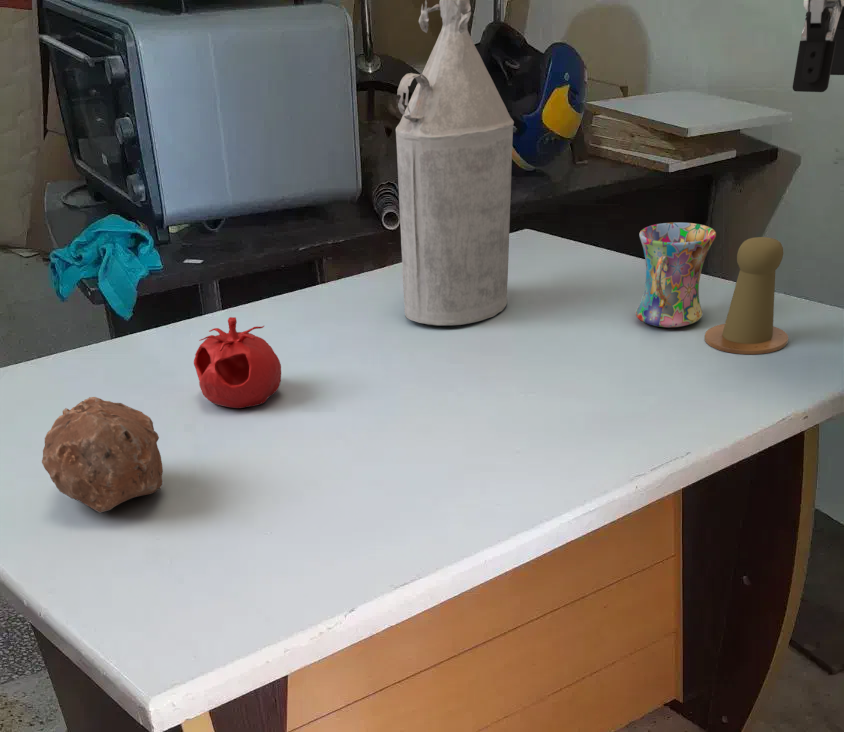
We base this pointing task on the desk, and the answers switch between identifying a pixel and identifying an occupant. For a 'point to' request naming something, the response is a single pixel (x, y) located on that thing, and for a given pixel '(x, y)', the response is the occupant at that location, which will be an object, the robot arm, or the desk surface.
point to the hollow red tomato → (237, 368)
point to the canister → (454, 181)
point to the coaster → (719, 342)
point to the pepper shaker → (754, 292)
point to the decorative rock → (103, 454)
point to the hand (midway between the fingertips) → (820, 82)
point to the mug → (673, 272)
